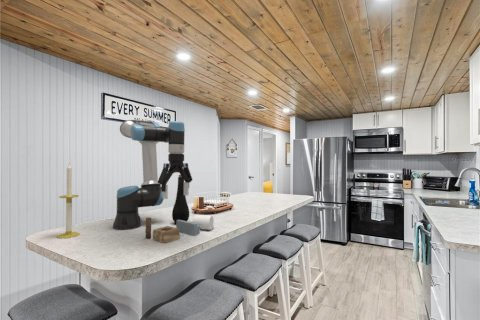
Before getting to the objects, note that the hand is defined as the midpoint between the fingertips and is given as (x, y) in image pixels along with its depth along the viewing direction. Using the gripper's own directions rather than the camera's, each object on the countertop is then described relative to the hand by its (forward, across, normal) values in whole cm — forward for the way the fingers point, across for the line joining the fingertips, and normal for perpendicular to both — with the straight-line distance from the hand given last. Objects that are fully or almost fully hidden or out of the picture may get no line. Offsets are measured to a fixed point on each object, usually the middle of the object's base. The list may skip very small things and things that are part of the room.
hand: (176, 196), depth 124 cm
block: (+21, -1, +5) cm, 22 cm away
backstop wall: (+21, +14, +4) cm, 26 cm away
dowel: (+21, -5, +14) cm, 26 cm away
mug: (+22, +25, +3) cm, 33 cm away
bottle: (+22, +26, +23) cm, 41 cm away
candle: (+22, -25, +51) cm, 61 cm away
